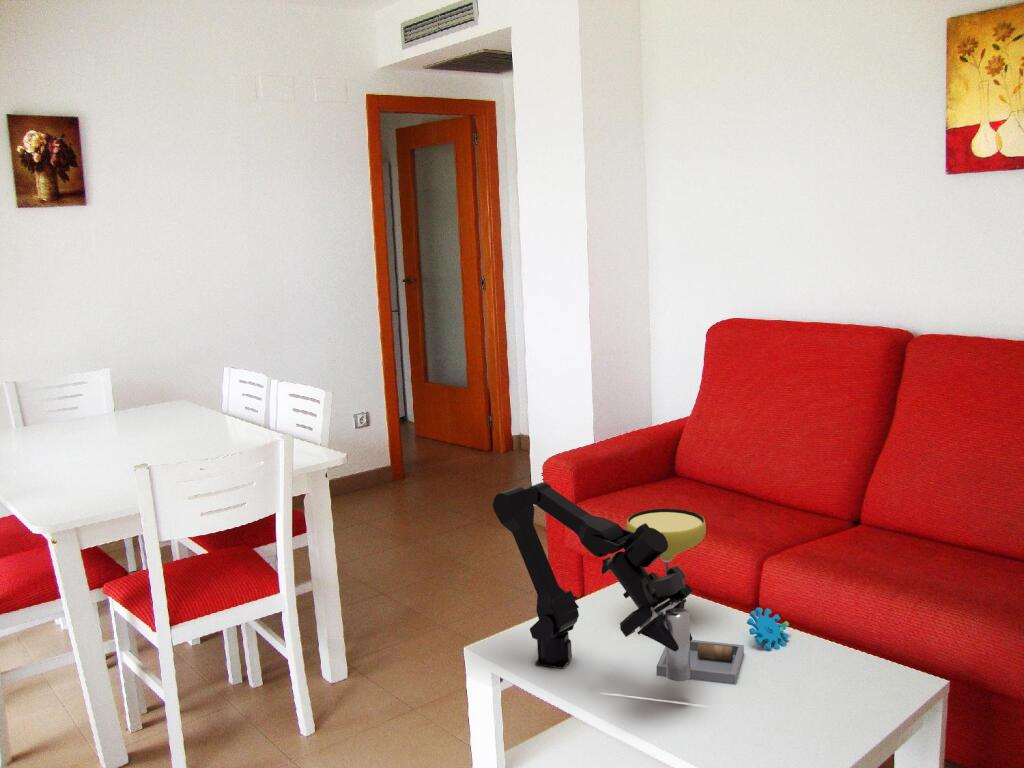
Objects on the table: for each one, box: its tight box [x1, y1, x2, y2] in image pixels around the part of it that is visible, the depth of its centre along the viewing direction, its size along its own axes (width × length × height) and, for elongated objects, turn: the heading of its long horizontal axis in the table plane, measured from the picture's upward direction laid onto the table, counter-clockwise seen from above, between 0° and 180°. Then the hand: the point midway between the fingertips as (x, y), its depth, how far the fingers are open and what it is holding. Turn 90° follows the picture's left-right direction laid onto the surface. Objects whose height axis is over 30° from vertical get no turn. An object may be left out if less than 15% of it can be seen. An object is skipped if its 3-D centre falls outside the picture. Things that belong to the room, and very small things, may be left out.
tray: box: [656, 639, 745, 685], centre depth 201 cm, size 16×14×3 cm
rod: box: [698, 643, 733, 661], centre depth 203 cm, size 7×3×3 cm, turn 70°
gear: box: [746, 607, 790, 651], centre depth 210 cm, size 11×6×10 cm
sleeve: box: [665, 608, 691, 682], centre depth 184 cm, size 5×5×13 cm
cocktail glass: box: [626, 508, 707, 627], centre depth 222 cm, size 18×18×25 cm
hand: (684, 645), depth 183 cm, fingers closed on sleeve, 5 cm apart
